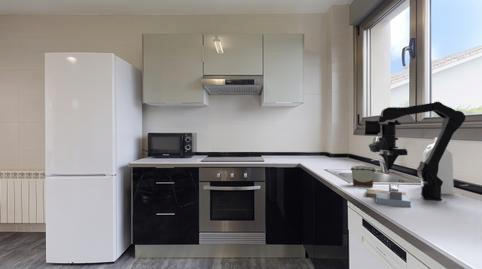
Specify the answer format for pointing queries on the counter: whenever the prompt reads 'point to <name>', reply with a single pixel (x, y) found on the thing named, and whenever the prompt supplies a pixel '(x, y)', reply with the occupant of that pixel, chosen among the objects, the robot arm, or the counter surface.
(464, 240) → the counter surface
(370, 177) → the food container
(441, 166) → the milk
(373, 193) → the jamb board
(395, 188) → the lock bar
